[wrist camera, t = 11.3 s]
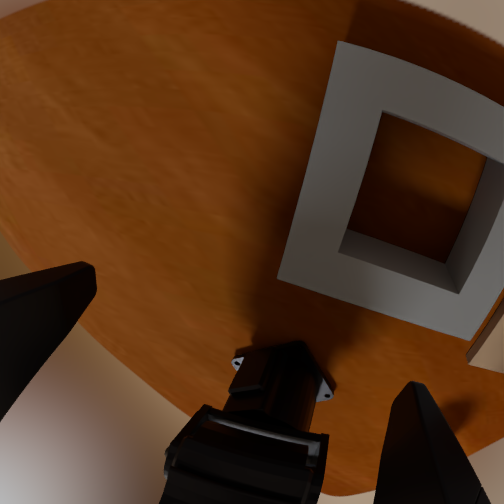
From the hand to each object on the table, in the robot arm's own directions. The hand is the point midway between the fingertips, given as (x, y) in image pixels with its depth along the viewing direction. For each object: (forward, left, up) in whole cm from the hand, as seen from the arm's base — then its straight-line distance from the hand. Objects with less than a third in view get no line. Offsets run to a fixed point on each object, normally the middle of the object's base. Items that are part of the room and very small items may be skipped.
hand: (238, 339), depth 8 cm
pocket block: (-2, -6, -12) cm, 14 cm away
